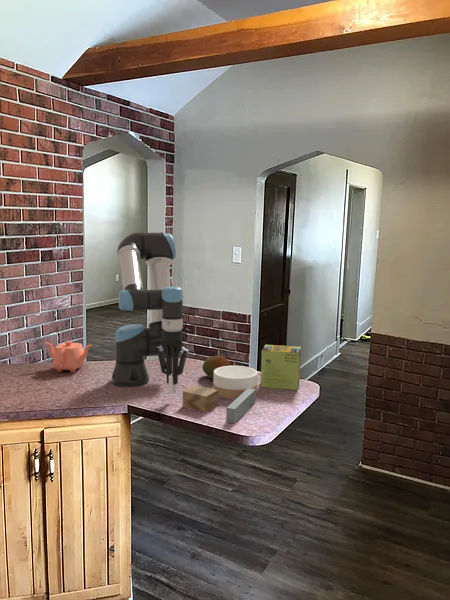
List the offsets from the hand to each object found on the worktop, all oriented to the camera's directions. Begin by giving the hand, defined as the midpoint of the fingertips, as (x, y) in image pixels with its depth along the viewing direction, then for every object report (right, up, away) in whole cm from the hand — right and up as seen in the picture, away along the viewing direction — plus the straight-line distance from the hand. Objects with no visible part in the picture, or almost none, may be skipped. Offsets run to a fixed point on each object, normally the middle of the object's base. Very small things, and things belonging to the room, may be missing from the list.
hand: (172, 392), depth 190 cm
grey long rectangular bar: (+25, -5, -8) cm, 27 cm away
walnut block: (+10, -5, -3) cm, 12 cm away
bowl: (+23, -2, +13) cm, 27 cm away
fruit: (+15, +1, +30) cm, 34 cm away
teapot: (-50, +3, +39) cm, 63 cm away
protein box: (+42, -1, +23) cm, 48 cm away
